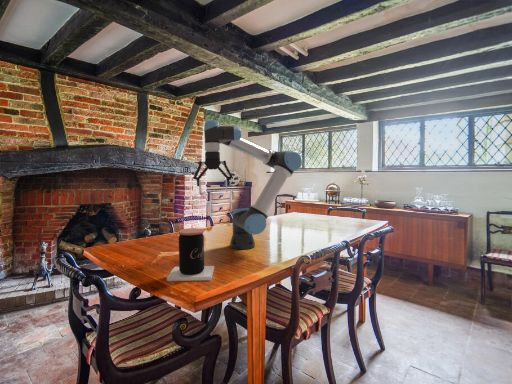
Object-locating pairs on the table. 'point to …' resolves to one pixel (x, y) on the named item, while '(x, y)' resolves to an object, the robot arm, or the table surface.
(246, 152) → the robot arm
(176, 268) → the plate
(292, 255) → the table surface
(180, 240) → the coffee jar
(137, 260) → the table surface
